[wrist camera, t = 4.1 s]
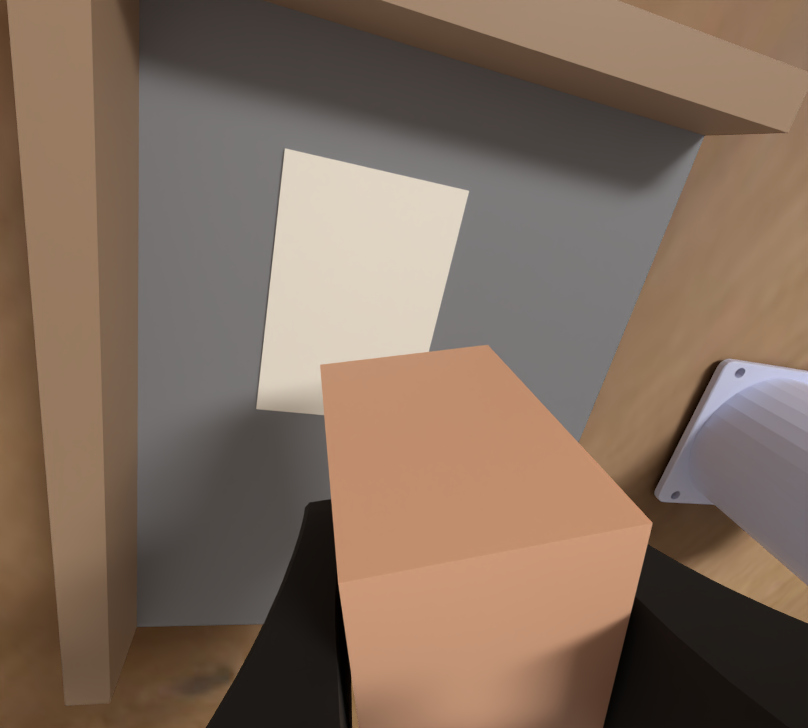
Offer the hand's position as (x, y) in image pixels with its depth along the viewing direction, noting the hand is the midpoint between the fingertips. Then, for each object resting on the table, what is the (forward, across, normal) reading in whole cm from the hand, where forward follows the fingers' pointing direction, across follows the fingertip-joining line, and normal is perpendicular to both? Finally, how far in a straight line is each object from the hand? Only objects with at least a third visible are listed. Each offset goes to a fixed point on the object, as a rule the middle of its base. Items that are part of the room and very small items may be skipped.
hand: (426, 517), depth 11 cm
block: (+2, 0, 0) cm, 2 cm away
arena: (+9, 0, +1) cm, 9 cm away
